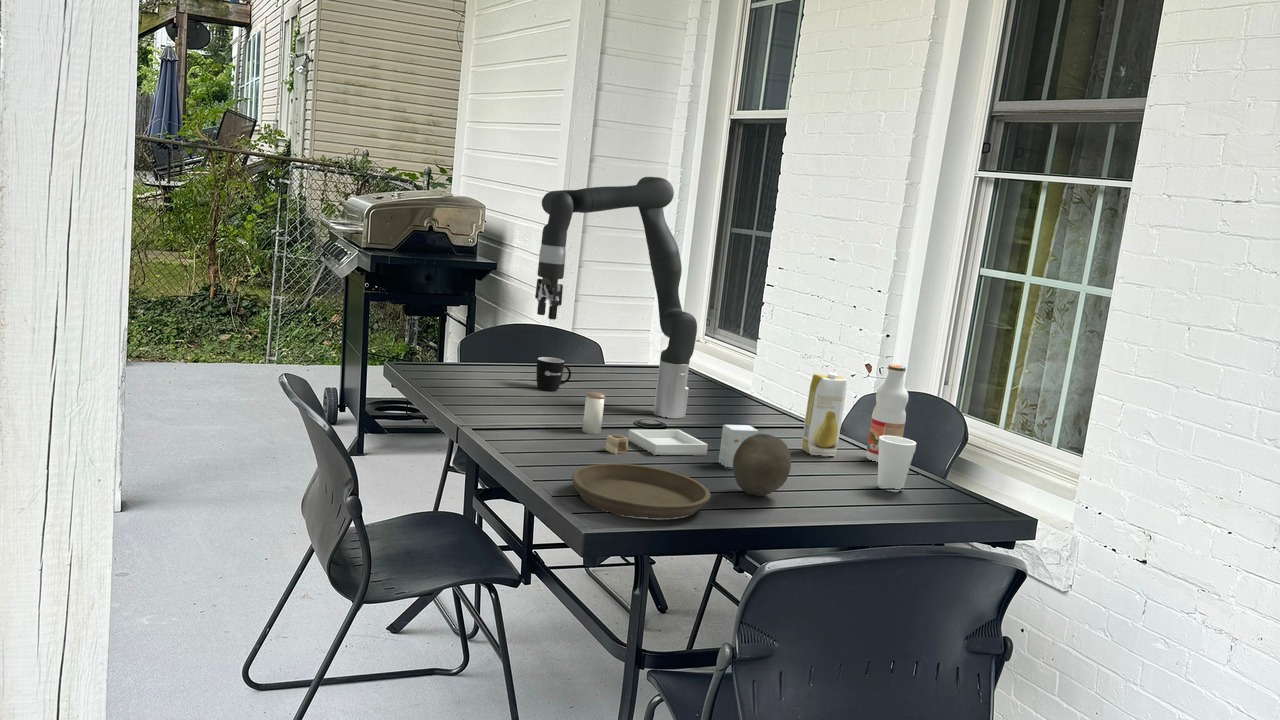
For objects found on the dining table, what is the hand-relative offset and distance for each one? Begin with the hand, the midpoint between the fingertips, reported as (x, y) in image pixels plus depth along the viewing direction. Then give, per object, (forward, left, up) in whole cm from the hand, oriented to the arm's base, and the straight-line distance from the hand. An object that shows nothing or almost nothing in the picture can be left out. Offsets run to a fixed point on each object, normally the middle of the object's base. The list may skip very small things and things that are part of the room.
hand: (546, 317), depth 295 cm
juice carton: (-70, +45, -29) cm, 88 cm away
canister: (-9, +20, -29) cm, 36 cm away
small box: (-35, +55, -29) cm, 71 cm away
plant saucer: (+7, +80, -30) cm, 85 cm away
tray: (-24, +37, -29) cm, 53 cm away
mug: (-20, -35, -29) cm, 50 cm away
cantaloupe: (-25, +80, -29) cm, 89 cm away
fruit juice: (-87, +53, -29) cm, 106 cm away
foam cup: (-68, +78, -29) cm, 107 cm away
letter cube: (-7, +40, -29) cm, 50 cm away
